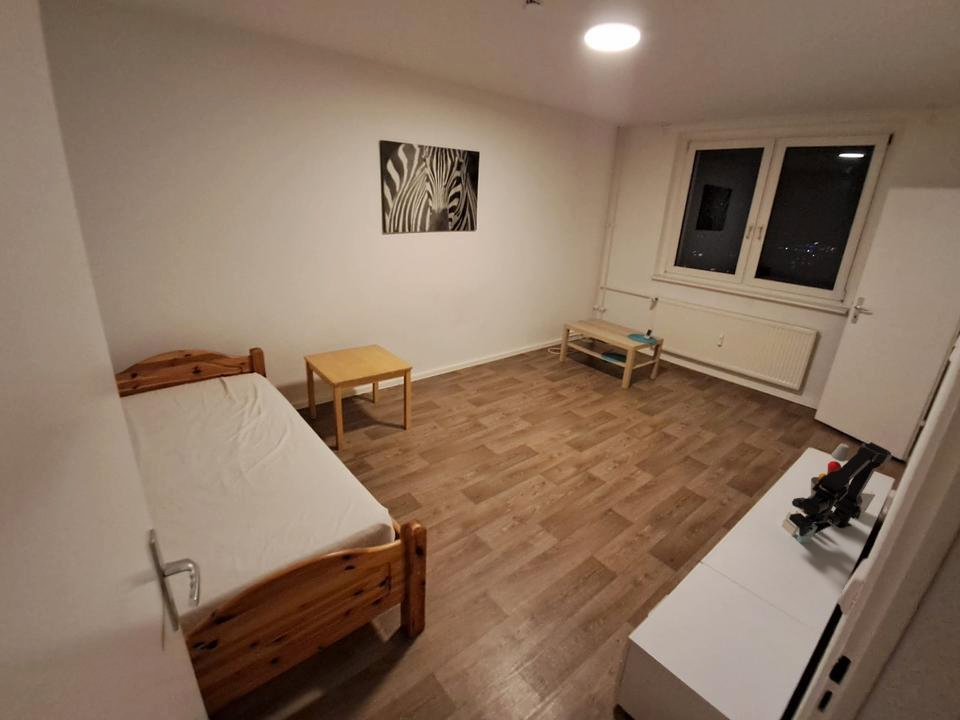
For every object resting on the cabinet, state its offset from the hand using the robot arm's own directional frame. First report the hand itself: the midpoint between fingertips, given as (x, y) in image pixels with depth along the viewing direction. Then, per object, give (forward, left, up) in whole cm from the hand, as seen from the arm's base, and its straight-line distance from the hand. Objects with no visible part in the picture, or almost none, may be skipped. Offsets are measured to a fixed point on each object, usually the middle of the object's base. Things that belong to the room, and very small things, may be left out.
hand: (805, 534), depth 172 cm
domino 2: (-2, -5, -3) cm, 7 cm away
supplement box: (-38, -11, -4) cm, 40 cm away
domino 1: (+2, -5, -3) cm, 7 cm away
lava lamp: (-19, -13, -3) cm, 23 cm away
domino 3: (0, 0, -3) cm, 3 cm away
